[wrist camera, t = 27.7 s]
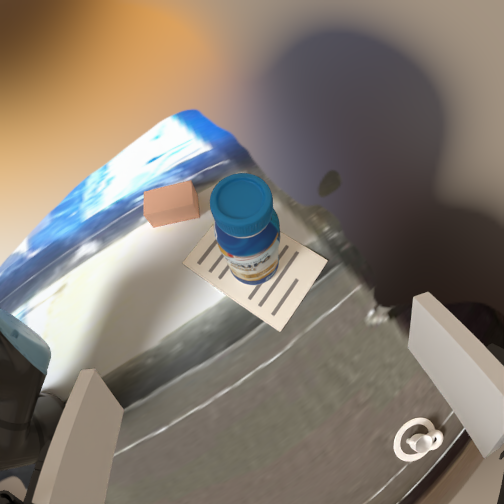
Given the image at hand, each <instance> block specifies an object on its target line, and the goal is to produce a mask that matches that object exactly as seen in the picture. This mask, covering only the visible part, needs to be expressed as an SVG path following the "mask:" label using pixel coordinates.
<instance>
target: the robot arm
mask: <svg viewBox="0 0 504 504" xmlns="http://www.w3.org/2000/svg"><path fill="white" fill-rule="evenodd" d="M408 349H409V350H410V351H411V353H412V354H413V355H414V357H415V358H416V359H417V361H418V362H419V363H420V365H421V366H422V367H423V369H424V370H425V372H426V373H427V374H428V376H429V377H430V378H431V380H432V381H433V383H434V384H435V385H436V387H437V388H438V390H439V391H440V392H441V394H442V395H443V397H444V398H445V400H446V401H447V402H448V404H449V405H450V407H451V408H452V410H453V411H454V413H455V414H456V416H457V417H458V419H459V420H460V422H461V423H462V425H463V426H464V428H465V429H466V431H467V432H468V434H469V435H470V437H471V438H472V440H473V441H474V443H475V445H476V446H477V448H478V449H479V451H480V452H481V454H482V456H483V457H484V459H485V458H486V457H488V456H489V455H491V454H492V453H493V452H495V451H496V450H497V449H499V448H500V447H501V446H502V444H503V443H504V349H502V348H500V347H498V346H496V345H494V344H490V345H489V346H487V347H485V346H484V345H483V344H482V343H481V342H480V341H479V340H478V339H477V338H476V337H475V336H474V335H473V334H472V333H471V332H470V331H469V330H468V329H467V328H466V327H465V326H464V325H463V324H462V323H461V322H460V321H459V320H458V319H457V318H456V317H455V316H454V315H453V314H452V313H451V312H449V311H448V310H447V309H446V308H445V307H444V306H443V305H442V304H441V303H440V302H439V301H438V300H437V299H436V298H434V297H433V296H432V295H431V294H430V293H429V292H426V293H423V294H420V295H418V296H415V297H413V306H412V317H411V326H410V334H409V342H408ZM50 359H51V351H50V348H49V346H48V345H47V343H46V342H45V341H44V340H43V339H42V338H41V337H40V336H39V335H38V334H37V333H35V332H34V331H33V330H32V329H30V328H29V327H28V326H27V325H25V324H24V323H22V322H21V321H20V320H18V319H17V318H15V317H14V316H13V315H11V314H9V313H8V312H6V311H5V310H3V309H1V308H0V471H3V470H8V469H13V468H17V467H22V466H26V465H31V464H35V463H36V465H35V468H34V469H35V471H33V474H32V477H31V480H30V483H29V486H28V490H27V493H26V496H25V499H24V502H22V501H21V500H19V499H18V498H17V497H15V496H14V495H13V494H11V493H10V492H9V491H5V490H3V491H0V504H104V503H105V497H106V491H107V486H108V480H109V475H110V470H111V465H112V461H113V456H114V451H115V447H116V442H117V438H118V433H119V429H120V425H121V421H122V417H123V413H124V409H123V408H122V407H121V405H120V404H119V403H118V401H117V400H116V398H115V397H114V396H113V394H112V393H111V391H110V390H109V388H108V387H107V386H106V384H105V383H104V381H103V380H102V378H101V377H100V375H99V374H98V372H97V371H96V369H95V368H94V369H83V370H81V371H80V373H79V376H78V378H77V380H76V382H75V385H74V387H73V389H72V391H71V394H70V396H69V398H68V401H67V403H66V405H65V403H64V402H63V401H61V400H60V399H59V398H58V397H56V396H54V395H52V394H49V393H40V391H41V388H42V385H43V383H44V380H45V377H46V375H47V369H48V365H49V362H50ZM503 457H504V451H503V452H502V453H501V455H500V458H499V459H502V458H503ZM497 504H504V475H503V480H502V485H501V489H500V494H499V498H498V502H497Z"/></svg>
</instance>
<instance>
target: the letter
mask: <svg viewBox="0 0 504 504" xmlns="http://www.w3.org/2000/svg"><path fill="white" fill-rule="evenodd" d="M278 255H279V266H278V269H277V271H276V273H275V275H274V276H273V277H272V278H271V279H270V280H268V281H267V282H265V283H263V284H260V285H247V284H244V283H242V282H240V281H238V280H237V279H236V278H235V277H234V276H233V274H232V273H231V271H230V268H229V266H228V264H227V261H226V259H225V257H224V256H223V254H222V253H221V251H220V249H219V247H218V244H217V240H216V238H215V234H214V224H213V225H212V226H211V228H210V229H209V230H208V231H207V233H206V234H205V235H204V236H203V238H202V239H201V240H200V241H199V242H198V244H197V245H196V246H195V247H194V249H193V250H192V251H191V252H190V254H189V255H188V256H187V257H186V259H185V260H184V261H183V263H182V264H184V265H185V266H186V267H188V268H189V269H191V270H192V271H193V272H195V273H196V274H197V275H199V276H200V277H202V278H203V279H204V280H206V281H207V282H209V283H210V284H211V285H213V286H214V287H216V288H217V289H218V290H220V291H221V292H223V293H224V294H225V295H227V296H228V297H230V298H231V299H233V300H234V301H235V302H237V303H238V304H240V305H241V306H243V307H244V308H246V309H247V310H248V311H250V312H251V313H253V314H254V315H256V316H257V317H259V318H260V319H262V320H263V321H265V322H266V323H267V324H269V325H270V326H272V327H273V328H275V329H276V330H278V331H279V332H281V330H282V329H283V328H284V326H285V325H286V323H287V322H288V320H289V319H290V317H291V316H292V315H293V313H294V312H295V310H296V309H297V307H298V306H299V304H300V303H301V301H302V300H303V298H304V297H305V295H306V294H307V292H308V291H309V289H310V288H311V286H312V285H313V283H314V282H315V280H316V279H317V277H318V275H319V274H320V272H321V271H322V269H323V268H324V266H325V265H326V263H327V261H328V260H326V259H324V258H323V257H321V256H320V255H318V254H316V253H315V252H313V251H311V250H310V249H308V248H307V247H305V246H303V245H302V244H300V243H298V242H297V241H295V240H293V239H292V238H290V237H288V236H287V235H285V234H284V233H282V232H280V243H279V246H278Z"/></svg>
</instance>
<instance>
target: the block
mask: <svg viewBox="0 0 504 504" xmlns="http://www.w3.org/2000/svg"><path fill="white" fill-rule="evenodd" d="M144 216H145V218H146V219H147V220H148V221H149V223H150V224H151V225H152V226H153V228H154V227H159V226H163V225H167V224H172V223H177V222H181V221H186V220H190V219H195V218H200V215H199V206H198V196H197V193H196V191H195V188H194V186H193V184H192V181H186V182H182V183H178V184H173V185H169V186H165V187H161V188H157V189H153V190H149V191H145V192H144Z"/></svg>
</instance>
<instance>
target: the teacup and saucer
mask: <svg viewBox="0 0 504 504" xmlns="http://www.w3.org/2000/svg"><path fill="white" fill-rule="evenodd" d="M416 424H422V425H424V426H426V427H427V429H428V431H429V433H427V434H426V435H425V434H415V435H413V436H412V437H411V438H408V439H407V440H406V443H409V445H410V447H411V448H412V449H413V450H415V451H416V452H418V453H417V454H414V455H408V454H405V453H404V452H403V451H402V450H401V447H400V440H401V437H402V435H403V433H404V432H405V431H406V430H407V429H408V428H409V427H411V426H413V425H416ZM435 437H436V438H437V440H436V442H435V443H434V440H435ZM418 440H419V441H418ZM417 441H418V443H417ZM442 441H443V434H442V432H441V431H439V430H435V428H434V425H433V424H432V422H431V421H430V420H428V419H426V418H414V419H412V420H410V421H408V422H406V423H405V424H404V425H403V426H402V427H401V428H400V429H399V431H398V433H397V434H396V437H395V440H394V451H395V454H396V455H397V457H398V458H400V459H401V460H403V461H415V460H417V459H419V458H421V457H423V456H424V455H425V454H426V453H427V452H428V451H429V450H434V449H436V448H438V447H439V446H440V445H441V443H442ZM416 443H417V444H416Z"/></svg>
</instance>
